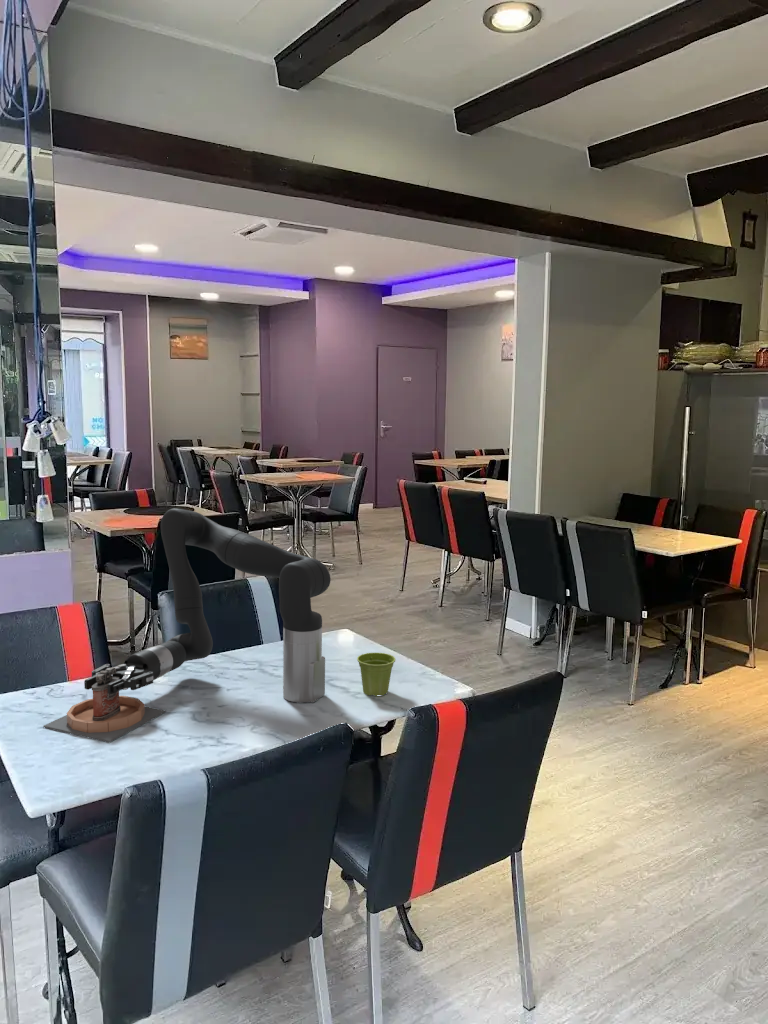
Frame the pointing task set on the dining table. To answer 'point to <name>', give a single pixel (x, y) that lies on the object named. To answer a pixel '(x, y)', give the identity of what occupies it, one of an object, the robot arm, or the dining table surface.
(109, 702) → the lighter
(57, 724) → the mat
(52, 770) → the dining table surface
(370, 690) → the plant pot
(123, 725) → the dish
